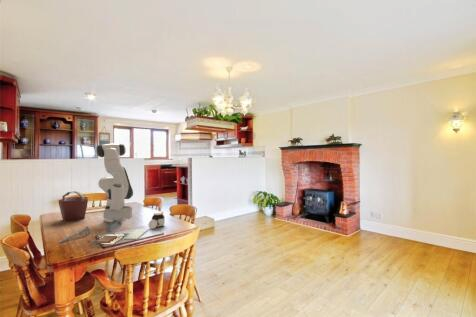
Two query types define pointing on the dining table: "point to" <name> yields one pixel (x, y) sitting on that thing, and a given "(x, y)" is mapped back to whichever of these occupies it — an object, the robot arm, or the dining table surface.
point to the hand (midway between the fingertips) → (118, 224)
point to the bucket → (73, 207)
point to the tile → (106, 239)
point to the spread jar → (157, 220)
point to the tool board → (136, 234)
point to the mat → (100, 243)
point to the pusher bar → (113, 226)
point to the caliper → (77, 234)
